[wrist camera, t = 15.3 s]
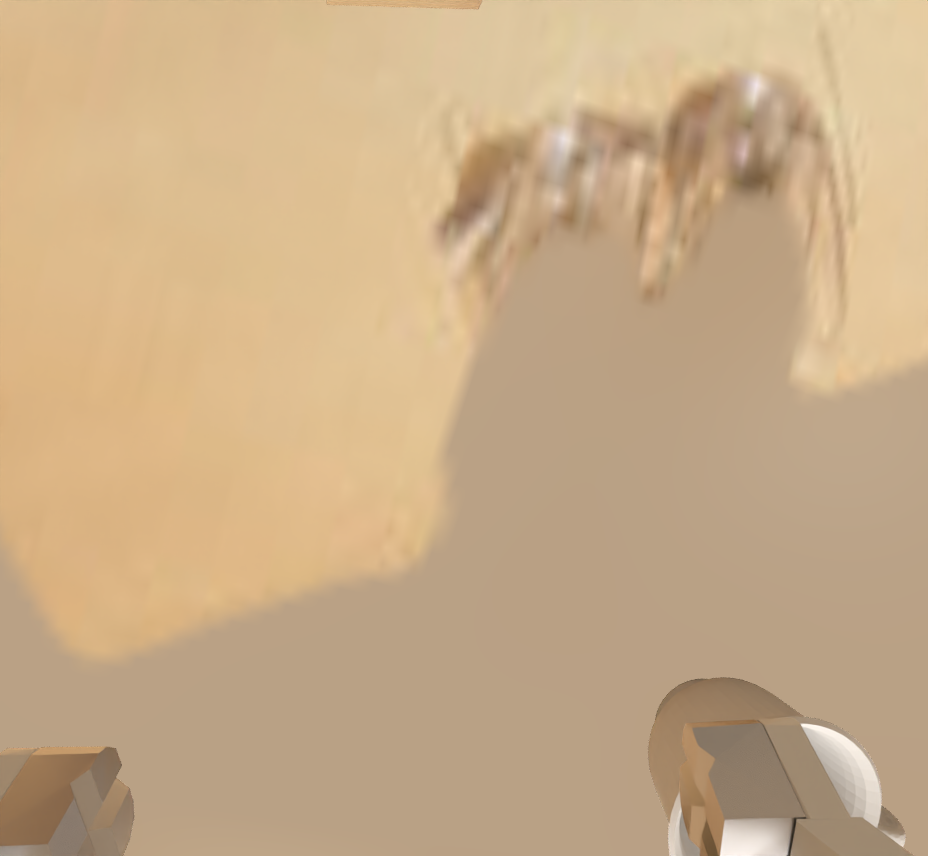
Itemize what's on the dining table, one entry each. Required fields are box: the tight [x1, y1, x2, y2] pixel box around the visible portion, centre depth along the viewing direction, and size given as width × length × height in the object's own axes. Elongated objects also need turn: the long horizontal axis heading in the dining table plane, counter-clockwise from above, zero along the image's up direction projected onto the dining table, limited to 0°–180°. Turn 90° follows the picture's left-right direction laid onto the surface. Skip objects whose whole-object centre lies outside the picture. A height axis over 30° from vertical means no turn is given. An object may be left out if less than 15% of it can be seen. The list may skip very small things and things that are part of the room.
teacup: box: [648, 678, 906, 856], centre depth 45 cm, size 12×15×10 cm
